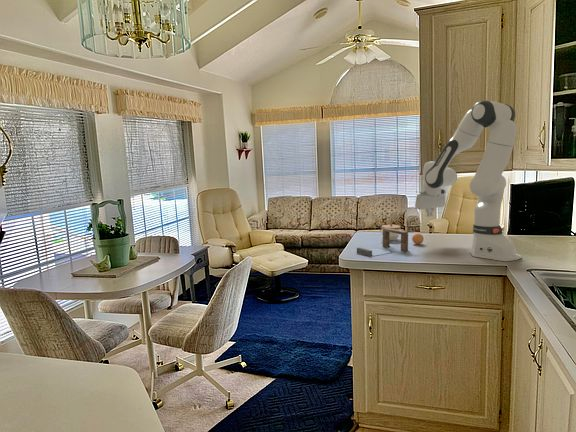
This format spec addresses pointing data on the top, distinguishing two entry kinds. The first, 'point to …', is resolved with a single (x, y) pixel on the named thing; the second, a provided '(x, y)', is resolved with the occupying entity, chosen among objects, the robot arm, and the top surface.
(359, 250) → the stopper
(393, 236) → the lidded jar
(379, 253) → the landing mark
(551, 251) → the top surface
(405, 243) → the bridge
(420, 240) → the ball
